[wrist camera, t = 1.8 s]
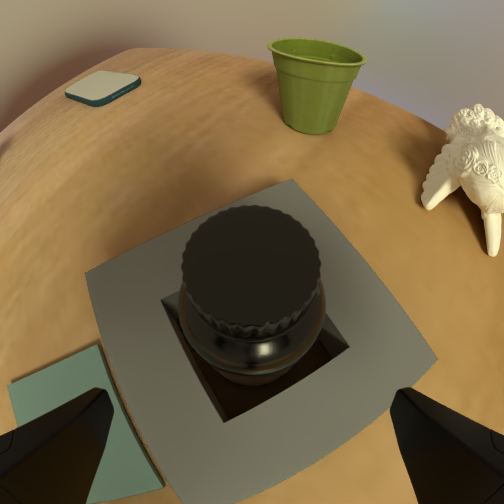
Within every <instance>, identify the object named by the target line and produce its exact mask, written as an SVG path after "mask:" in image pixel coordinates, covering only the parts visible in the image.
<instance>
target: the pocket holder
mask: <svg viewBox="0 0 504 504" xmlns="http://www.w3.org/2000/svg"><path fill="white" fill-rule="evenodd" d="M242 205H247V206H251V205H258V206H261V207H262V206H268V207H270V208H272V209H278V210H281V211H282V212H283V213H285V214H289V215H291V216H292V217H293V219H295V220H297V221H299V222H300V223H301V224H302V226H303V227H304V228H306V229H307V230H308V231H309V234H310V236H311V237H312V238H313V239H314V240H315V246H316V247H317V248H318V250H319V259H320V261H321V264H322V265H321V268H320V274H321V281H322V283H323V287H324V291H325V296H326V313H325V319H324V323H323V326H322V329H321V331H320V333H319V335H318V339H319V340H320V342H321V343H322V345H323V346H324V347H325V349H326V350H327V352H328V353H329V355H330V356H331V358H332V360H331V361H329V362H328V363H326V364H325V365H323V366H322V367H320V368H319V369H317V370H316V371H314V372H313V373H311V374H310V375H308V376H307V377H305V378H303V379H302V380H300V381H299V382H297V383H295V384H294V385H292V386H291V387H289V388H287V389H286V390H284V391H282V392H281V393H279V394H277V395H275V396H274V397H272V398H270V399H268V400H267V401H265V402H263V403H261V404H259V405H258V406H256V407H254V408H252V409H250V410H248V411H246V412H244V413H243V414H241V415H239V416H237V417H235V418H233V419H231V420H229V419H228V417H227V415H226V414H225V412H224V410H223V409H222V407H221V405H220V404H219V402H218V400H217V398H216V397H215V395H214V393H213V391H212V390H211V388H210V386H209V384H208V382H207V381H206V379H205V377H204V375H203V373H202V371H201V370H200V368H199V366H198V364H197V362H196V360H195V358H194V356H193V354H192V352H191V350H190V348H189V346H188V344H187V342H186V340H185V338H184V336H183V334H182V332H181V330H180V328H179V326H178V324H177V322H176V319H178V318H179V314H178V296H179V291H180V287H181V284H182V276H183V273H182V270H181V264H182V262H183V259H182V254H183V252H184V251H185V249H186V247H185V246H186V243H187V242H188V241H189V240H190V238H191V235H192V233H193V232H194V231H196V230H197V229H198V227H199V225H200V224H201V223H204V222H206V220H207V219H208V218H209V217H211V216H214V215H216V214H217V213H218V212H219V211H224V210H227V209H229V208H231V207H239V206H242ZM85 276H86V281H87V285H88V290H89V294H90V298H91V302H92V306H93V310H94V313H95V317H96V320H97V324H98V327H99V331H100V334H101V337H102V340H103V343H104V346H105V349H106V352H107V355H108V358H109V361H110V364H111V367H112V369H113V372H114V375H115V377H116V380H117V382H118V385H119V387H120V390H121V392H122V394H123V397H124V399H125V401H126V404H127V406H128V408H129V410H130V413H131V415H132V417H133V419H134V421H135V423H136V425H137V427H138V429H139V431H140V433H141V435H142V437H143V439H144V441H145V443H146V445H147V447H148V448H149V450H150V452H151V454H152V456H153V457H154V459H155V461H156V463H157V464H158V466H159V468H160V469H161V471H162V473H163V474H164V476H165V478H166V479H167V481H168V482H169V484H170V485H171V487H172V488H173V490H174V492H175V493H176V494H177V496H178V497H179V499H180V500H181V502H182V503H183V504H234V503H237V502H239V501H242V500H244V499H246V498H249V497H251V496H253V495H255V494H258V493H260V492H262V491H264V490H266V489H268V488H270V487H272V486H274V485H276V484H278V483H280V482H282V481H284V480H286V479H288V478H290V477H291V476H293V475H295V474H297V473H299V472H300V471H302V470H304V469H306V468H307V467H309V466H311V465H312V464H314V463H315V462H317V461H319V460H320V459H322V458H323V457H325V456H326V455H328V454H329V453H331V452H332V451H334V450H335V449H337V448H338V447H340V446H341V445H343V444H344V443H345V442H347V441H348V440H350V439H351V438H352V437H354V436H355V435H356V434H358V433H359V432H360V431H362V430H363V429H364V428H366V427H367V426H368V425H369V424H371V423H372V422H373V421H374V420H375V419H377V418H378V417H379V416H380V415H381V414H383V413H384V412H385V411H386V410H387V409H388V408H390V407H391V404H392V401H393V399H394V396H395V394H396V391H397V390H398V389H401V388H405V387H412V386H413V385H414V384H415V383H416V382H417V381H418V380H419V379H420V378H421V377H422V376H423V375H424V374H425V373H426V372H427V371H428V370H429V369H430V368H431V366H432V365H433V364H434V363H435V362H436V361H437V360H438V358H437V357H436V355H435V354H434V352H433V351H432V349H431V348H430V346H429V345H428V343H427V342H426V340H425V339H424V338H423V336H422V335H421V333H420V332H419V330H418V329H417V328H416V326H415V325H414V323H413V322H412V321H411V319H410V318H409V316H408V315H407V314H406V312H405V311H404V310H403V308H402V307H401V306H400V304H399V303H398V302H397V300H396V299H395V298H394V296H393V295H392V294H391V292H390V291H389V290H388V288H387V287H386V286H385V285H384V283H383V282H382V281H381V280H380V278H379V277H378V276H377V275H376V273H375V272H374V271H373V270H372V268H371V267H370V266H369V265H368V263H367V262H366V261H365V260H364V258H363V257H362V256H361V255H360V254H359V252H358V251H357V250H356V249H355V248H354V247H353V245H352V244H351V243H350V242H349V241H348V239H347V238H346V237H345V236H344V235H343V234H342V233H341V231H340V230H339V229H338V228H337V227H336V226H335V225H334V223H333V222H332V221H331V220H330V219H329V218H328V217H327V216H326V215H325V213H324V212H323V211H322V210H321V209H320V208H319V207H318V206H317V205H316V204H315V202H314V201H313V200H312V199H311V198H310V197H309V196H308V195H307V194H306V193H305V192H304V191H303V190H302V189H301V188H300V187H299V185H298V184H297V183H296V182H295V181H294V180H293V179H289V180H287V181H284V182H282V183H279V184H277V185H274V186H272V187H269V188H267V189H264V190H262V191H259V192H257V193H254V194H252V195H249V196H247V197H245V198H242V199H240V200H237V201H235V202H233V203H230V204H228V205H226V206H223V207H221V208H219V209H217V210H214V211H212V212H210V213H207V214H205V215H203V216H201V217H198V218H196V219H194V220H192V221H190V222H187V223H185V224H183V225H181V226H179V227H176V228H174V229H172V230H170V231H168V232H166V233H164V234H161V235H159V236H157V237H155V238H153V239H151V240H149V241H147V242H145V243H143V244H141V245H139V246H137V247H135V248H133V249H130V250H128V251H126V252H124V253H122V254H120V255H119V256H117V257H115V258H113V259H111V260H109V261H107V262H105V263H103V264H101V265H99V266H97V267H95V268H93V269H91V270H90V271H88V272H86V273H85Z"/></svg>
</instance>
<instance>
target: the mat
mask: <svg viewBox="0 0 504 504" xmlns="http://www.w3.org/2000/svg"><path fill="white" fill-rule="evenodd" d="M94 387H98V388H102V389H105V390H107V392H108V394H109V396H110V399H111V402H112V404H113V407H114V415H113V419H112V423H111V427H110V431H109V435H108V439H107V443H106V447H105V450H104V453H103V456H102V459H101V461H100V464H99V467H98V470H97V472H96V475H95V478H94V481H93V484H92V487H91V490H90V493H89V496H88V499H87V502H86V504H92V503H99V502H105V501H111V500H116V499H121V498H125V497H130V496H134V495H138V494H142V493H146V492H150V491H153V490H157V489H160V488H163V487H165V486H166V485H165V484H164V482H163V480H162V479H161V477H160V476H159V474H158V472H157V471H156V469H155V467H154V466H153V464H152V462H151V460H150V459H149V457H148V455H147V453H146V451H145V450H144V448H143V446H142V444H141V442H140V440H139V438H138V436H137V434H136V432H135V430H134V428H133V426H132V424H131V422H130V420H129V418H128V415H127V413H126V411H125V409H124V407H123V404H122V402H121V400H120V397H119V395H118V392H117V390H116V388H115V385H114V383H113V380H112V377H111V375H110V372H109V369H108V367H107V364H106V361H105V358H104V355H103V352H102V349H101V346H100V345H98V344H96V345H94V346H92V347H90V348H88V349H86V350H83V351H81V352H79V353H77V354H75V355H73V356H71V357H69V358H66V359H64V360H62V361H60V362H58V363H56V364H54V365H51V366H49V367H47V368H45V369H43V370H41V371H38V372H36V373H34V374H32V375H30V376H27V377H25V378H23V379H21V380H19V381H16V382H14V383H12V384H10V385H8V391H9V395H10V399H11V403H12V407H13V411H14V414H15V418H16V421H17V425H18V427H20V426H22V425H24V424H26V423H28V422H30V421H32V420H34V419H36V418H38V417H40V416H41V415H43V414H45V413H47V412H49V411H51V410H53V409H55V408H57V407H59V406H61V405H62V404H64V403H66V402H68V401H70V400H72V399H74V398H75V397H77V396H79V395H81V394H83V393H85V392H86V391H88V390H90V389H92V388H94Z"/></svg>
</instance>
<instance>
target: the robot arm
mask: <svg viewBox="0 0 504 504" xmlns="http://www.w3.org/2000/svg"><path fill="white" fill-rule="evenodd" d="M113 415H114V407H113V404H112V402H111V399H110V396H109V394H108V392H107V390H105V389H102V388H98V387H94V388H92V389H90V390H88V391H86V392H85V393H83V394H81V395H79V396H77V397H75V398H74V399H72V400H70V401H68V402H66V403H64V404H62V405H61V406H59V407H57V408H55V409H53V410H51V411H49V412H47V413H45V414H43V415H41V416H40V417H38V418H36V419H34V420H32V421H30V422H28V423H26V424H24V425H22V426H20V427H18V428H16V429H15V430H12V431H10V432H7V433H5V434H3V435H1V436H0V504H86V502H87V499H88V496H89V493H90V490H91V487H92V484H93V481H94V478H95V475H96V472H97V470H98V467H99V464H100V461H101V459H102V456H103V453H104V450H105V447H106V443H107V439H108V435H109V431H110V427H111V423H112V419H113ZM390 415H391V419H392V422H393V426H394V430H395V434H396V438H397V442H398V446H399V449H400V452H401V455H402V458H403V461H404V463H405V466H406V469H407V472H408V474H409V477H410V480H411V483H412V486H413V489H414V492H415V495H416V498H417V501H418V504H504V435H502V434H500V433H498V432H496V431H493V430H491V429H490V430H489V428H487V427H485V426H483V425H481V424H479V423H477V422H475V421H473V420H471V419H469V418H467V417H465V416H463V415H461V414H459V413H458V412H456V411H454V410H452V409H450V408H448V407H446V406H444V405H442V404H440V403H438V402H437V401H435V400H433V399H431V398H429V397H427V396H425V395H424V394H422V393H420V392H418V391H416V390H415V389H413V388H411V387H405V388H401V389H398V390H397V391H396V394H395V396H394V399H393V401H392V404H391V407H390Z"/></svg>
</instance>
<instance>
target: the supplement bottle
mask: <svg viewBox="0 0 504 504" xmlns="http://www.w3.org/2000/svg"><path fill="white" fill-rule="evenodd" d="M185 247H186V249H185V251H184V252H183V254H182V259H183V262H182V264H181V270H182V273H183V276H182V284H181V287H180V291H179V296H178V314H179V320H180V323H181V327H182V329H183V332H184V334H185V336H186V338H187V339H188V341H189V343H190V344H191V345H192V347H193V348H194V349H195V351H196V352H197V353H198V354H199V355H200V356H201V357H202V358H203V359H204V360H205V361H206V362H207V363H209V364H210V365H211V366H212V367H213V368H214V369H215V370H216V371H217V372H218V373H220V374H221V375H222V376H224V377H225V378H227V379H228V380H230V381H232V382H235V383H238V384H242V385H248V386H258V385H264V384H268V383H270V382H273V381H275V380H277V379H279V378H280V377H282V376H283V375H284V374H286V373H287V372H288V371H289V370H290V369H291V368H292V367H293V366H294V365H295V364H296V363H297V362H298V361H299V360H300V359H301V358H302V357H303V356H304V355H305V354H306V353H307V352H308V350H309V349H310V348H311V347H312V345H313V344H314V342H315V341H316V339H317V337H318V335H319V333H320V331H321V329H322V326H323V323H324V319H325V313H326V296H325V291H324V287H323V283H322V281H321V274H320V268H321V265H322V264H321V261H320V259H319V250H318V248H317V247H316V246H315V240H314V239H313V238H312V237H311V236H310V234H309V231H308V230H307V229H306V228H304V227H303V226H302V224H301V223H300V222H299V221H297V220H295V219H293V217H292V216H291V215H289V214H285V213H283V212H282V211H281V210H278V209H272V208H270V207H268V206H262V207H261V206H258V205H251V206H247V205H242V206H239V207H231V208H229V209H227V210H224V211H219V212H218V213H217V214H216V215H214V216H211V217H209V218H208V219H207V220H206V222H204V223H201V224H200V225H199V227H198V229H197V230H196V231H194V232H193V233H192V235H191V238H190V240H189V241H188V242H187V243H186V246H185Z"/></svg>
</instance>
